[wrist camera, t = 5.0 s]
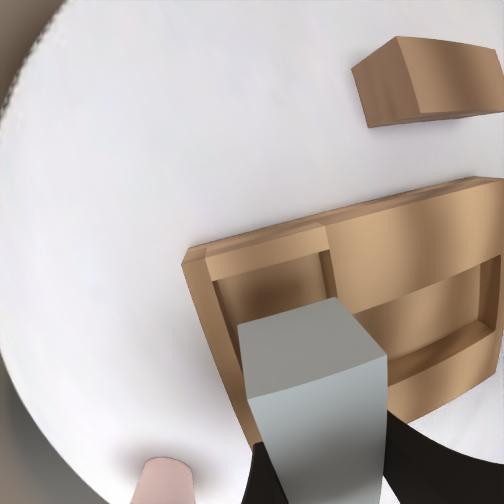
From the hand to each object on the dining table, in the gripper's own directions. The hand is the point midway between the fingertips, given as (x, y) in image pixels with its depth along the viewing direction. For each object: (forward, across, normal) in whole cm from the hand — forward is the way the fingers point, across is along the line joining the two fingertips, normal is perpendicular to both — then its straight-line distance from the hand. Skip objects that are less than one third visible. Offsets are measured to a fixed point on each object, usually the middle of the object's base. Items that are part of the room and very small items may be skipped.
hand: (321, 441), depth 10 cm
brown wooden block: (+7, -10, -12) cm, 18 cm away
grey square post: (+2, 0, 0) cm, 2 cm away
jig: (+7, -6, 0) cm, 9 cm away
